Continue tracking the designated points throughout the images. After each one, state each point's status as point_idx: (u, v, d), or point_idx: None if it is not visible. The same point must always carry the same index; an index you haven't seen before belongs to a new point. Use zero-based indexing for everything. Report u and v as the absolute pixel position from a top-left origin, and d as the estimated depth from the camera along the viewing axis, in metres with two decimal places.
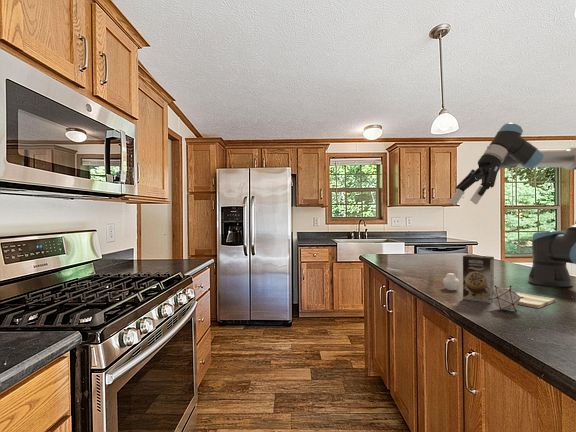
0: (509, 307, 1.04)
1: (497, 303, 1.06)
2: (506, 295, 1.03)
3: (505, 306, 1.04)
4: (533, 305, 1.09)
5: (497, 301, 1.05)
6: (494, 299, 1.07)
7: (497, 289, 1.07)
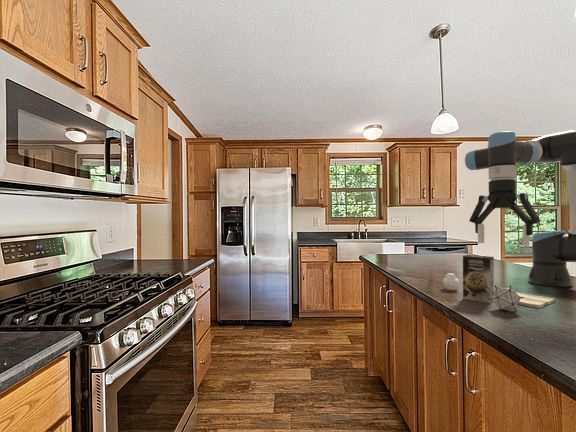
0: (509, 307, 1.04)
1: (497, 303, 1.06)
2: (506, 295, 1.03)
3: (505, 306, 1.04)
4: (533, 305, 1.09)
5: (497, 301, 1.05)
6: (494, 299, 1.07)
7: (497, 289, 1.07)
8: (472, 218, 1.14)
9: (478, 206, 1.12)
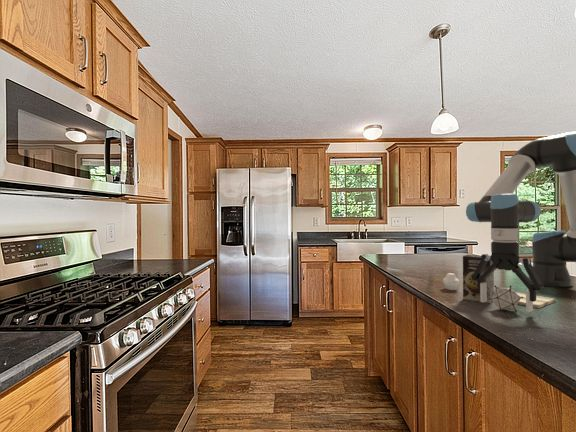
0: (509, 307, 1.04)
1: (497, 303, 1.06)
2: (506, 295, 1.03)
3: (505, 306, 1.04)
4: (533, 305, 1.09)
5: (497, 301, 1.05)
6: (494, 299, 1.07)
7: (497, 289, 1.07)
8: (474, 276, 1.13)
9: (480, 265, 1.11)
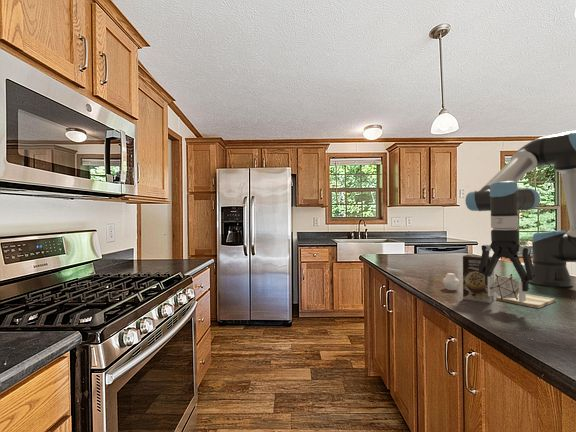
0: (510, 295, 1.04)
1: (498, 292, 1.06)
2: (507, 283, 1.04)
3: (506, 294, 1.04)
4: (533, 305, 1.09)
5: (498, 290, 1.05)
6: (495, 288, 1.07)
7: (498, 278, 1.07)
8: (481, 269, 1.11)
9: (483, 256, 1.11)
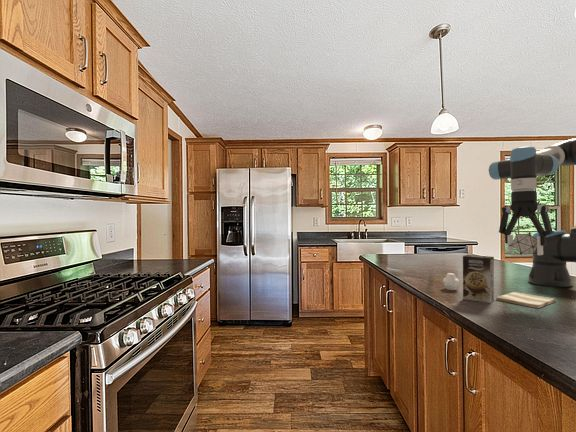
0: (529, 250, 1.14)
1: (518, 247, 1.16)
2: (526, 239, 1.14)
3: (525, 249, 1.15)
4: (533, 305, 1.09)
5: (518, 245, 1.16)
6: (515, 245, 1.17)
7: (517, 235, 1.17)
8: (501, 229, 1.22)
9: (503, 217, 1.21)
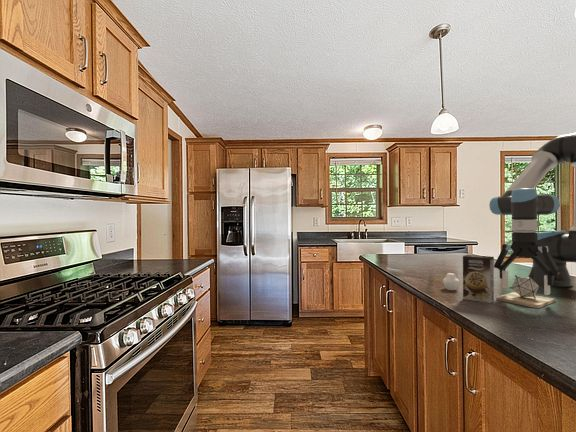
0: (529, 294, 1.15)
1: (518, 291, 1.17)
2: (527, 283, 1.15)
3: (526, 293, 1.15)
4: (533, 305, 1.09)
5: (518, 289, 1.16)
6: (515, 288, 1.18)
7: (518, 278, 1.18)
8: (496, 264, 1.24)
9: (502, 254, 1.22)
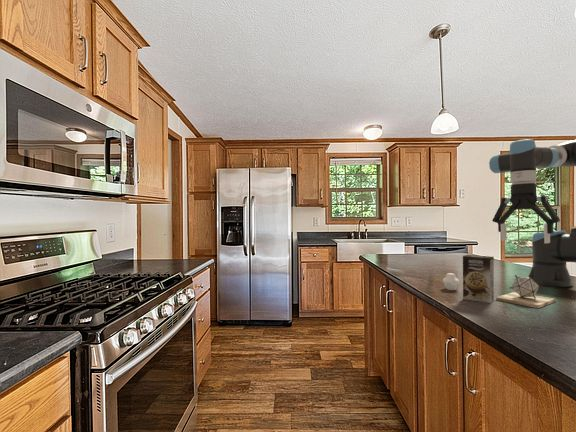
0: (529, 294, 1.15)
1: (518, 291, 1.17)
2: (527, 283, 1.15)
3: (526, 293, 1.15)
4: (533, 305, 1.09)
5: (518, 289, 1.16)
6: (515, 288, 1.18)
7: (518, 278, 1.18)
8: (495, 218, 1.25)
9: (501, 207, 1.23)
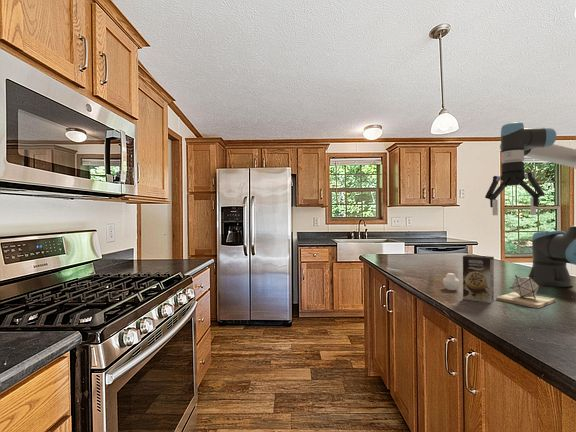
0: (529, 294, 1.15)
1: (518, 291, 1.17)
2: (527, 283, 1.15)
3: (526, 293, 1.15)
4: (533, 305, 1.09)
5: (518, 289, 1.16)
6: (515, 288, 1.18)
7: (518, 278, 1.18)
8: (487, 195, 1.37)
9: (492, 185, 1.36)
